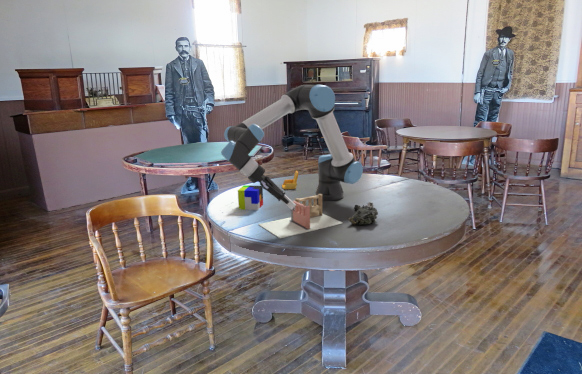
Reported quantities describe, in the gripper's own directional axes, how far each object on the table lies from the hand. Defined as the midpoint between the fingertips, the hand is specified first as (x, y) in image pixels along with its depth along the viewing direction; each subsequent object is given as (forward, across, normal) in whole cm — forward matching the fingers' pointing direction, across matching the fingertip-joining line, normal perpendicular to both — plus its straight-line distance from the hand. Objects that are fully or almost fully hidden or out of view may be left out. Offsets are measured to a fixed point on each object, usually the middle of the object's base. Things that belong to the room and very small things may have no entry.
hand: (293, 207), depth 191 cm
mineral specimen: (+29, -6, +14) cm, 33 cm away
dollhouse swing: (+6, -71, -9) cm, 72 cm away
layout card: (+9, -5, -5) cm, 11 cm away
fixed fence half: (+12, -13, -2) cm, 18 cm away
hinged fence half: (+8, -3, -4) cm, 10 cm away
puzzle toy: (-8, -33, -22) cm, 41 cm away
